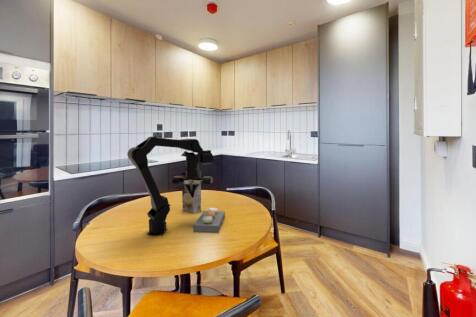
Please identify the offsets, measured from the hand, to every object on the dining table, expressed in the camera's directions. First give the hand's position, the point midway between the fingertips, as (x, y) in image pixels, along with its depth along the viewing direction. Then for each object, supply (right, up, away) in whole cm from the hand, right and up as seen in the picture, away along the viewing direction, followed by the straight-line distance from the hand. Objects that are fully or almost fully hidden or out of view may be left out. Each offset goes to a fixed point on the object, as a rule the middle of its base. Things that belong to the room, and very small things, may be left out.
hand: (192, 197), depth 121 cm
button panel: (+8, -13, +1) cm, 16 cm away
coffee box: (-4, -11, +21) cm, 24 cm away
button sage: (+8, -10, -6) cm, 14 cm away
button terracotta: (+8, -9, 0) cm, 13 cm away
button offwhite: (+9, -9, +7) cm, 14 cm away
